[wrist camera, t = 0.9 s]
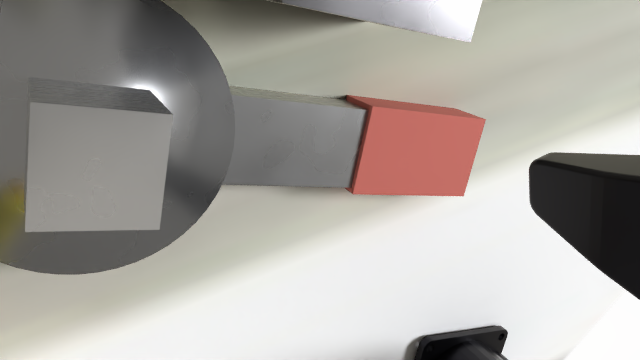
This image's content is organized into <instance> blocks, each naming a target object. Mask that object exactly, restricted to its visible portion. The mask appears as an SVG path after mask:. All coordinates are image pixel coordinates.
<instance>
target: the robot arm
mask: <svg viewBox="0 0 640 360" xmlns="http://www.w3.org/2000/svg"><path fill="white" fill-rule="evenodd" d="M529 194H530V204H531V207H532V209H533V210H534V212H535V213H536V214H537V215H538V216H539V217H540V218H541V219H542V220H543V221H545V222H546V223H547V224H548V225H549V226H550V227H551V228H552V229H554V230H555V231H556V232H557V233H558V234H559V235H560V236H561V237H563V238H564V239H565V240H566V241H567V242H568V243H569V244H570V245H572V246H573V247H574V248H575V249H576V250H577V251H578V252H579V253H581V254H582V255H583V256H584V257H585V258H586V259H587V260H588V261H590V262H591V263H592V264H593V265H594V266H596V267H597V268H598V269H599V270H600V271H602V272H603V273H604V274H606V275H607V276H608V277H610V278H611V279H612V280H614V281H615V282H616V283H618V284H619V285H620V286H622V287H623V288H624V289H626V290H627V291H629V292H630V293H631V294H633V295H634V296H635V297H637V298H638V299H639V300H640V155H618V154H586V153H548V154H546V155H544V156H542V157H540V158H538V159H536V160H534V161H533V162H532V163H531V165H530V167H529ZM507 334H508V332H507V330H505V329H504V328H503V327H502V326H495V327H488V328H481V329H474V330H468V331H461V332H454V333H447V334H441V335H434V336H428V337H425V338H424V339H423V340H422V341H421V342H420V344H419V347H418V350H417V354H416V357H415V360H508V359H507V358H505V357H504V356H503V355H502V354H501V353H502V350H503V347H504V344H505V341H506V338H507Z"/></svg>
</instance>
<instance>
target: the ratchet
mask: <svg viewBox="0 0 640 360" xmlns="http://www.w3.org/2000/svg"><path fill="white" fill-rule="evenodd" d="M485 120H486V119H483V118H480V117H477V116H475V115H472V114H469V113H466V112H463V111H461V110H458V109H454V108H446V107H438V106H430V105H422V104H414V103H406V102H398V101H390V100H382V99H374V98H366V97H358V96H350V95H347V97H346V100H343V99H335V98H327V97H318V96H310V95H302V94H293V93H285V92H277V91H268V90H260V89H252V88H243V87H235V86H229V85H228V82H227V79H226V76H225V74H224V72H223V70H222V68H221V65H220V63H219V61H218V59H217V58H216V56H215V55H214V53H213V51H212V50H211V48H210V47H209V45H208V44H207V42H206V41H205V40H204V39H203V38H202V36H201V35H200V34H199V33H198V32H197V30H196V29H195V28H194V27H193V26H192V25H191V24H190V23H188V22H187V21H186V20H185V19H184V18H183V17H182V16H181V15H180V14H178V13H177V12H176V11H174V10H173V9H172V8H170V7H169V6H168V5H166V4H165V3H163V2H162V1H160V0H0V262H1V263H4V264H7V265H10V266H13V267H16V268H21V269H25V270H30V271H34V272H40V273H50V274H86V273H96V272H102V271H106V270H111V269H116V268H119V267H122V266H125V265H128V264H131V263H134V262H137V261H139V260H141V259H144V258H146V257H148V256H150V255H152V254H154V253H156V252H158V251H159V250H161V249H163V248H164V247H166V246H168V245H169V244H171V243H172V242H173V241H175V240H176V239H177V238H179V237H180V236H181V235H183V234H184V233H185V232H186V231H187V230H188V229H189V228H190V227H191V226H192V225H193V224H195V223H196V222H197V220H198V219H199V218H200V217H201V216H202V214H203V213H204V212H205V211H206V210H207V208H208V207H209V205H210V204H211V202H212V201H213V199H214V198H215V196H216V195H217V193H218V191H219V189H220V187H221V185H222V184H226V185H266V186H305V187H344V188H345V189H347V190H348V191H349V192H351V193H352V194H372V195H426V196H464V193H465V189H466V186H467V182H468V179H469V176H470V172H471V169H472V165H473V162H474V158H475V155H476V151H477V148H478V144H479V141H480V138H481V134H482V131H483V127H484V124H485Z"/></svg>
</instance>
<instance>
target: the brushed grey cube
mask: <svg viewBox="0 0 640 360" xmlns="http://www.w3.org/2000/svg"><path fill="white" fill-rule="evenodd" d="M266 1H271V2H276V3H281V4H286V5H290V6H295V7H300V8H305V9H309V10H314V11H319V12H324V13H329V14H333V15H338V16H343V17H348V18H352V19H357V20H362V21H367V22H372V23H377V24H382V25H387V26H392V27H397V28H401V29H406V30H411V31H416V32H421V33H426V34H431V35H436V36H441V37H446V38H451V39H456V40H461V41H466V42H471V39H472V35H473V32H474V28H475V24H476V21H477V17H478V13H479V10H480V6H481V2H482V0H266Z"/></svg>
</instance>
